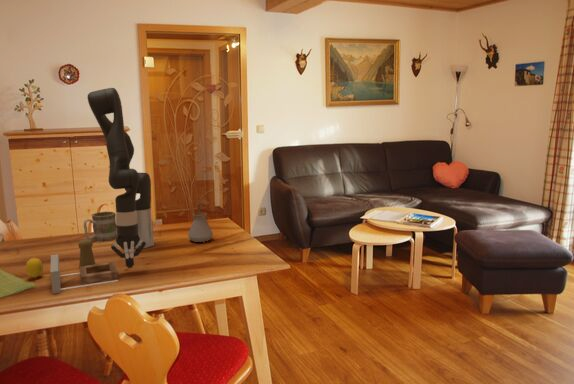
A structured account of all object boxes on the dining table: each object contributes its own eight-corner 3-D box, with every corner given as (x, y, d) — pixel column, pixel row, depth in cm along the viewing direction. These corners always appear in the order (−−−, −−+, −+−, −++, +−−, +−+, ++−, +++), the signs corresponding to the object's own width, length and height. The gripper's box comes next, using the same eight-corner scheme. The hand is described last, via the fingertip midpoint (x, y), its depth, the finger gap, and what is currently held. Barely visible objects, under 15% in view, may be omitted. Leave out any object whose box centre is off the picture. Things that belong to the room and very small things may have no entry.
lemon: (31, 275, 176) (28, 255, 175) (46, 275, 177) (44, 254, 175) (24, 281, 171) (21, 260, 170) (40, 280, 171) (37, 259, 170)
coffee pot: (213, 243, 216) (212, 211, 214) (188, 244, 214) (186, 212, 211) (211, 231, 237) (210, 201, 234) (188, 232, 235) (186, 203, 232)
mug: (108, 234, 232) (107, 210, 230) (122, 237, 226) (120, 213, 224) (79, 241, 220) (76, 216, 218) (92, 245, 214) (90, 220, 212)
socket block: (114, 269, 182) (113, 261, 181) (117, 279, 171) (117, 271, 171) (80, 274, 177) (79, 266, 176) (81, 285, 166) (81, 277, 166)
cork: (89, 269, 183) (87, 242, 180) (75, 268, 184) (73, 241, 182) (98, 264, 188) (96, 238, 186) (85, 263, 190) (83, 237, 188)
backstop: (113, 267, 185) (111, 247, 184) (119, 284, 168) (117, 262, 166) (53, 275, 176) (50, 255, 175) (52, 294, 159) (50, 272, 157)
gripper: (143, 218, 181) (146, 261, 184) (107, 222, 176) (110, 266, 179) (146, 222, 175) (149, 267, 178) (108, 226, 169) (112, 273, 172)
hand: (129, 267), depth 178 cm, fingers closed
